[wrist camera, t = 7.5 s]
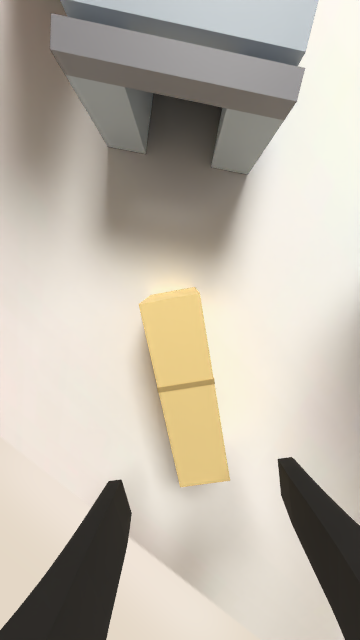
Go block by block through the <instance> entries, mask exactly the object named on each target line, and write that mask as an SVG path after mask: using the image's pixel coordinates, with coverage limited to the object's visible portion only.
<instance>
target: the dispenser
mask: <svg viewBox="0 0 360 640" xmlns="http://www.w3.org/2000/svg"><path fill="white" fill-rule="evenodd" d="M60 1H61V3H62V5H63V7H64V10H65V12H66V14H67V16H68V17H66V16H62V15H57V14H53V13H51V36H50V50H51V52H52V53H53V55H54V57H55V58H56V60H57V62H58V64H59V65H60V67H61V69H62V70H63V72H64V74H65V75H66V77H67V79H68V80H69V82H70V84H71V85H72V87H73V89H74V90H75V92H76V94H77V95H78V97H79V99H80V100H81V102H82V104H83V105H84V107H85V109H86V111H87V112H88V114H89V116H90V117H91V119H92V121H93V122H94V124H95V126H96V127H97V129H98V131H99V132H100V134H101V136H102V137H103V139H104V141H105V142H106V144H107V146H108V147H113V148H118V149H123V150H128V151H133V152H138V153H143V154H146V148H147V140H148V132H149V124H150V117H151V109H152V101H153V93H155V94H160V95H165V96H169V97H174V98H179V99H184V100H189V101H193V102H198V103H203V104H208V105H213V106H217V107H222V111H221V117H220V122H219V127H218V133H217V138H216V143H215V148H214V154H213V159H212V164H211V167H213V168H218V169H223V170H228V171H233V172H238V173H243V174H248V173H249V172H250V170H251V169H252V167H253V166H254V164H255V163H256V161H257V160H258V158H259V157H260V156H261V154H262V153H263V151H264V150H265V148H266V147H267V145H268V144H269V142H270V141H271V139H272V138H273V136H274V135H275V133H276V132H277V130H278V129H279V127H280V126H281V124H282V123H283V121H284V120H285V118H286V117H287V115H288V114H289V112H290V111H291V109H292V108H293V106H294V105H295V103H296V102H297V98H298V94H299V90H300V86H301V82H302V78H303V75H304V71H305V68H302V67H298V64H299V63H300V61H301V59H302V57H303V56H304V54H305V52H306V48H307V44H308V40H309V36H310V32H311V28H312V24H313V20H314V16H315V12H316V8H317V4H318V0H60Z"/></svg>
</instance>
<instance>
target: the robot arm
mask: <svg viewBox="0 0 360 640" xmlns="http://www.w3.org/2000/svg"><path fill="white" fill-rule="evenodd" d="M278 467H279V477H280V488H281V496H282V498H283V501H284V504H285V507H286V509H287V512H288V515H289V517H290V520H291V522H292V525H293V527H294V529H295V532H296V534H297V536H298V538H299V540H300V542H301V544H302V546H303V549H304V551H305V553H306V555H307V557H308V559H309V561H310V563H311V566H312V568H313V570H314V572H315V574H316V576H317V578H318V580H319V582H320V585H321V587H322V589H323V591H324V593H325V595H326V597H327V599H328V602H329V604H330V606H331V608H332V610H333V613H334V615H335V617H336V619H337V622H338V624H339V626H340V629H341V631H342V633H343V636H344V638H345V640H360V526H359V525H358V524H357V523H356V522H355V521H354V520H353V519H352V518H351V517H350V516H349V515H348V514H347V513H346V512H345V511H344V510H343V509H341V508H340V507H339V506H338V505H337V504H336V503H335V502H334V501H333V500H332V499H331V498H330V497H329V496H328V495H327V494H326V493H325V492H324V491H323V490H322V489H321V488H320V486H319V485H318V484H317V483H316V482H315V481H314V480H313V479H312V478H311V477H310V476H309V475H308V474H307V473H306V472H305V471H304V469H303V468H302V467H301V466H300V465H299V464H298V463H297V462H296V460H295V459H293V458H292V457H289V458H282V459H278ZM131 514H132V513H131V510H130V506H129V503H128V500H127V496H126V493H125V490H124V486H123V483H122V480H114V481H109V482H108V483H107V485H106V486H105V488H104V489H103V491H102V492H101V494H100V495H99V497H98V498H97V500H96V502H95V503H94V505H93V506H92V508H91V509H90V511H89V512H88V514H87V516H86V517H85V518H84V520H83V521H82V523H81V524H80V526H79V527H78V529H77V530H76V532H75V533H74V535H73V536H72V538H71V539H70V541H69V542H68V544H67V545H66V546H65V548H64V549H63V551H62V552H61V553H60V555H59V556H58V558H57V559H56V560H55V562H54V563H53V565H52V566H51V567H50V569H49V570H48V571H47V573H46V574H45V575H44V577H43V578H42V579H41V581H40V582H39V583H38V585H37V586H36V587H35V588H34V590H33V591H32V592H31V593H30V595H29V596H28V597H27V598H26V600H25V601H24V603H22V605H21V606H20V607H19V608H18V610H17V611H16V612H15V613H14V615H13V616H12V617H11V618H10V619H9V621H8V622H7V623H6V624H5V625H4V626H3V628H2V629H1V630H0V640H106V638H107V633H108V628H109V624H110V619H111V615H112V610H113V606H114V602H115V597H116V593H117V588H118V584H119V579H120V575H121V571H122V566H123V562H124V557H125V553H126V548H127V543H128V536H129V530H130V522H131Z"/></svg>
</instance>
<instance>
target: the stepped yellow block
mask: <svg viewBox="0 0 360 640" xmlns="http://www.w3.org/2000/svg"><path fill="white" fill-rule="evenodd" d="M139 308H140V312H141V317H142V321H143V325H144V330H145V334H146V339H147V343H148V347H149V352H150V356H151V361H152V365H153V370H154V374H155V378H156V383H157V389H158V393H159V396H160V400H161V405H162V409H163V414H164V418H165V422H166V427H167V431H168V436H169V440H170V444H171V449H172V453H173V458H174V462H175V466H176V471H177V475H178V480H179V484H180V487H186V486H194V485H201V484H209V483H216V482H223V481H230V477H229V471H228V465H227V459H226V453H225V446H224V440H223V434H222V428H221V422H220V416H219V409H218V403H217V397H216V391H215V385H214V384H215V382H214V377H213V372H212V366H211V360H210V354H209V348H208V342H207V335H206V329H205V323H204V317H203V311H202V305H201V298H200V293H199V292H198V291H197V289H196V288H195V287H192V288H187V289H181V290H176V291H171V292H165V293H160V294H154V295H151V296H149V297H148V298H147V299H145V300H144V301H142V302H141V303H140V304H139Z"/></svg>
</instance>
